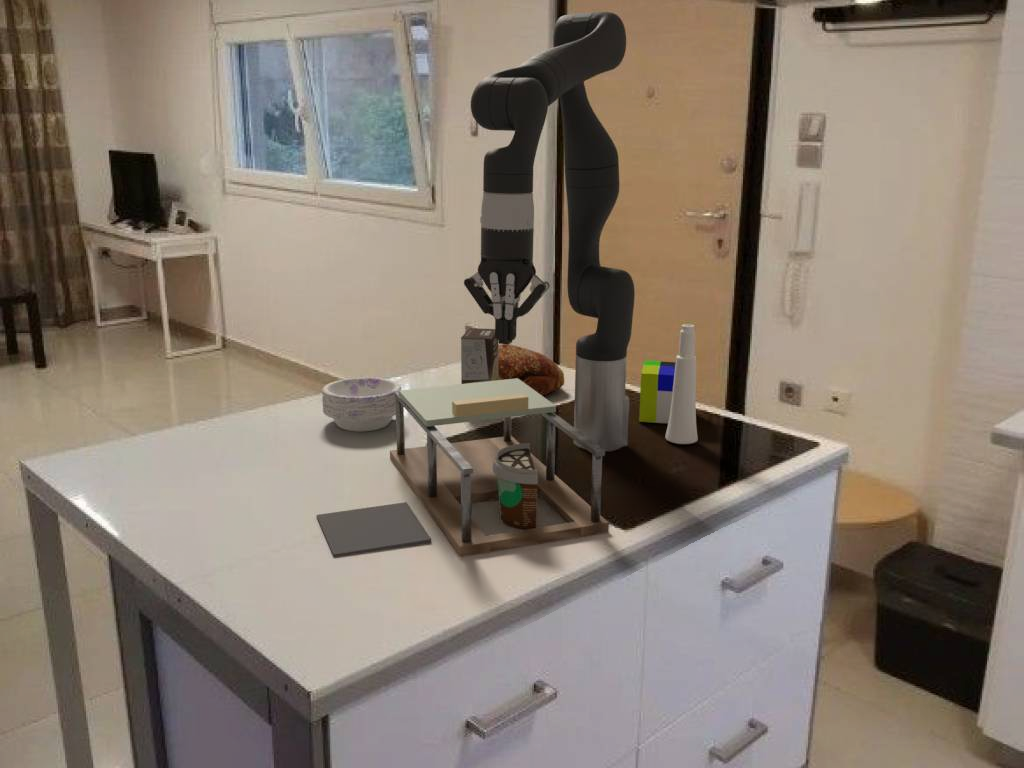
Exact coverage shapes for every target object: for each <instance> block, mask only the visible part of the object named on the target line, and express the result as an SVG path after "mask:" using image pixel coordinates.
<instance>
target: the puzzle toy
mask: <svg viewBox="0 0 1024 768" xmlns="http://www.w3.org/2000/svg"><path fill="white" fill-rule="evenodd" d="M675 364H676V361H662V360H661V361H659V360H658V361H657V360H644V362H643V366H642V369H641V373H640V393H639V412H638V413H639V416H638V422H640V423H652V424H653V423H654V424H667V425H668V422H669V417H670V410H671V402H672V393H673V383H674V373H675Z"/></svg>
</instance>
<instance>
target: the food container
mask: <svg viewBox="0 0 1024 768" xmlns="http://www.w3.org/2000/svg"><path fill="white" fill-rule="evenodd" d="M530 449H531V444H530V443H529V442H528V443H520V444H516V445H511V446H508V447H505V448H503V449H501V450H500V451H499V452H498V453H497V455H496V457H495V459H494V464H493V472H494V473H495V474H496V475H497V479H498V493H499V499H498V505H499V515H500V517H499V519H500V521H501V523H503V524H504V525H506V526H507V527H510V528H512V529H515V530H519V531H520V530H526V529H533V528H537V518H538V517H537V513H538V511H537V510H538V494H537V484H538V470H535V468H534V464H533V459H532V457H531V454H532V453H531V452H530V451H531V450H530ZM530 453H531V454H530Z"/></svg>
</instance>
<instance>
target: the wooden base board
mask: <svg viewBox="0 0 1024 768" xmlns="http://www.w3.org/2000/svg"><path fill="white" fill-rule="evenodd" d="M450 444H451V445H452V446H453V447H454V448H455V449H456V450H457V451H458V452H459V453H460V454H461V455H462V457H463V458H464V459H465V460H466V461H467V462H468V463H469V464H470V465H471V466H472V467H473V474H471V504H474V503H480V502H487V501H488V502H489V501H492V500H493V501H495V500H499V493H498V479H497V475H496V474H495V473H494V472H493V464H494V459H495V457H496V455H497V453H498V452H499V451H500V450H501V449H503V448H505V447H508V446H511V445H516V444H521V443H520V442H519V441H518V440H517V439H516V438H515V437H514V436H512V435H511V441H504V436H498V437H491V438H483V439H475V440H466V441H458V442H450ZM530 454H531V457H532V459H533V464H534V468H535V470H538V484H537V496H539V498H541V499H542V500H543V501H544V502H545V503H546V504H547V505H548V506H549V507H550V508H551V509H552V510H553V511H554V512H555V513H556V514H557V515H558V516H559V517H560V518H561V519H562V520H563V521H564V522H565V523H560V524H559V523H557V524H553V525H545V526H541V527H536V528H533V529H526V530H520V529H519V530H514V531H509V532H503V533H501V532H500V533H496V534H491V535H485V532H483V531H482V529H480V527H479V526H478V525H477V524H476V522H475V521H474V520H473V519H472V517H471V529H472V541H471V542H469V543H464V542H462V529H461V472H460V470H459V469H458V468H457V467H456V466H455V465H454V464H453V462H452V461H451V460H450V459H449V458H448V457H447V456H446V454H445V453H444V452H443V451H442V450H441V449H440V448H439V447H438V445H437V444H436V456H437V497H429V496H428V459H427V445H425V446H417V447H409V448H408V447H407V448H405V454H403V455H398V454H397V449H393V450H389V458H390V460H391V461H392V463H393V464H394V466H395V467H396V468H397V470H398V472H399V473H400V474H401V476H402V477H403V479H404V480H405V481H406V482H407V484H408V486H409V488H411V490H412V491H413V492H414V494H415V496H416V497H417V498H418V500H419V501H420V503H421V504H422V506H423V507H424V508H425V510H426V511H427V512H428V514H429V515H430V517H431V518H432V519H433V521H434V522H435V524H436V525H437V527H438V528H439V530H440V531H441V532H442V533H443V535H444V536H445V538H446V539H447V541H448V542H449V544H450V546H452V548H453V549H454V550H455V552H456V554H457V555H458V556H459V557H461V558H462V557H466V556H471V555H478V554H484V553H490V552H495V551H496V552H497V551H501V550H508V549H514V548H519V547H521V548H522V547H525V546H526V547H527V546H533V545H538V544H544V543H550V542H556V541H563V540H568V539H573V538H580V537H581V538H582V537H586V536H591V535H598V534H604V533H605V534H606V533H609V530H610V529H609V528H610V522H609V521H608V520H607V519H606V518H604V517H603V516H602V515H601V514H600V521H599V522H592V521H591V504H589V503H588V502H586V501H585V500H584V499H583V497H581V496H579V495H578V493H576V492H575V490H573V489H572V488H571V487H569V486H568V485H567V484H566V482H564V481H563V480H562V479H561V478H559V476H557V475H556V474H555V479H554V480H552V481H548V480H546V464H544V463H542V462H541V460H539V459H538V458H537V457H536V456H534V454H532V452H530Z"/></svg>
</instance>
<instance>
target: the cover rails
mask: <svg viewBox="0 0 1024 768" xmlns="http://www.w3.org/2000/svg"><path fill="white" fill-rule="evenodd" d="M394 396H395V408H396V415H395V434H396V439H395V440H396V450H397V454H398V455H403V454H405V449H406V444H405V440H406V439H405V412H404V411H407V412H408V413H409V415H410V416H411V417H412V418H413V419H414V420H415V422H416V423H417V424H418V425H419V426H420V427H421V428H422V429H423V431H424V432H425V433H426V444H427V445H426V446H427V459H428V496H429V497H437V456H436V445H438V447H439V448H440V449H441V450H442V451H443V452H444V453H445V454H446V456H447V457H448V458H449V459H450V460H451V461H452V462H453V464H454V465H455V466H456V467H457V468H458V469H459V470H460V472H461V529H462V542H464V543H469V542H471V541H472V529H471V518H472V503H471V474H473V467H472V466H471V465H470V464H469V463H468V462H467V461H466V460H465V459H464V458H463V457H462V455H461V454H460V453H459V452H458V451H457V450H456V449H455V448H454V447H453V446H452V445H451V444H450V443H451V442H450V441H449V440H448V439H447V438H446V437H445V436H444V435H443V434H442V432H440V431H439V430H438V428H437V427H436V426H429V427H426V426H425V425H424V424H423V423H422V421H421V420H420V419H419V418H418V417H417V416H416V415H415V414H414V412H413V411H412V410H411V409H410V408H409V407H408V406H407V405H406V403H405V402H404V401H403V400H402V399H401V398H400V397H399V391H394ZM404 409H405V410H404ZM540 415H541V416H542V417H544V418H545V419H546V454H545V455H546V457H545V458H546V459H545V460H546V461H545V466H546V480H548V481H552V480H554V479H555V475H556V474H555V472H556V471H555V470H556V468H555V467H556V428H558V429H559V430H561V431H562V432H563V433H564V434H565V435H567V436H568V437H569V438H570V439H572V440H573V441H574V440H575V441H576V442H577V443H579V444H580V445H581V446H583V447H584V448H585V449H584V450H586V451H588V452H589V453H591V454H592V458H591V459H592V461H591V462H592V463H591V464H592V467H591V468H592V469H591V490H590V491H591V492H590V494H591V495H590V496H591V497H590V506H591V521H592V522H599V521H600V515H601V502H602V500H601V499H602V475H603V474H602V473H603V471H602V470H603V457H605V455H606V451H605V450H604V449H602V448H601V447H600V446H598V445H597V444H596V443H594V442H593V441H592V440H590V439H589V438H587V437H586V436H585V435H583V434H582V433H581V432H579V431H578V430H577V429H575V428H574V425H572V424H570V423H569V422H567V421H566V420H565V419H563V418H562V417H560V416H559V415H557V414H556V412H550V413H542V414H540ZM511 436H512V417H507V418H503V437H504V441H511Z"/></svg>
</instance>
